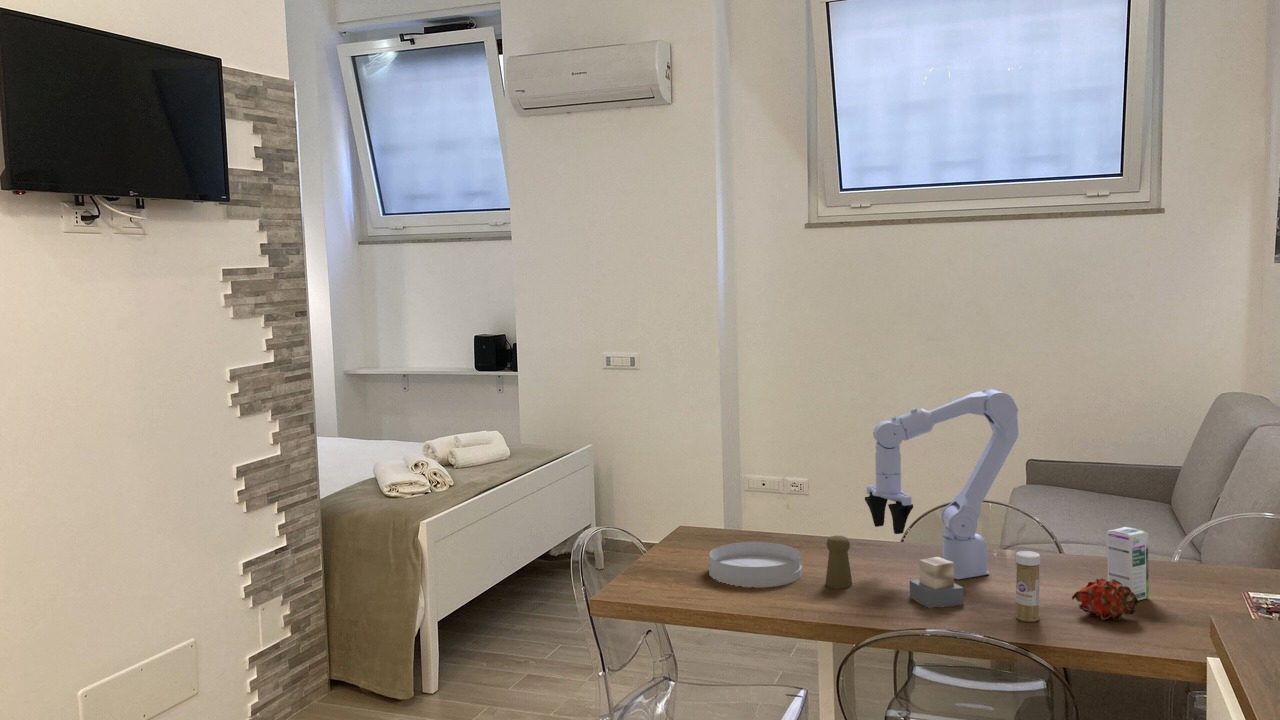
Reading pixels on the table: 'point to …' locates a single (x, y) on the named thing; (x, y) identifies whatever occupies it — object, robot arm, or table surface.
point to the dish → (755, 564)
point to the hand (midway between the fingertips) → (888, 529)
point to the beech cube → (936, 572)
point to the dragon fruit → (1106, 599)
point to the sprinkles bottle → (1027, 586)
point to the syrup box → (1129, 559)
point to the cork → (838, 563)
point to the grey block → (936, 595)
